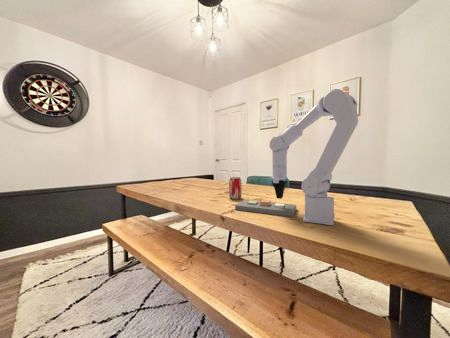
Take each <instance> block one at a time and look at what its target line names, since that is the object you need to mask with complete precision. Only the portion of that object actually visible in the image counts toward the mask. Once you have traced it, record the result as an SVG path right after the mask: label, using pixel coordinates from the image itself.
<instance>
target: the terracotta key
mask: <svg viewBox="0 0 450 338" xmlns="http://www.w3.org/2000/svg"><path fill="white" fill-rule="evenodd" d="M259 201H260V206H267V207H269V206H271V199H269V200H268V199H262V200H259Z"/></svg>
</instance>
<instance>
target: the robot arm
mask: <svg viewBox="0 0 450 338" xmlns="http://www.w3.org/2000/svg"><path fill="white" fill-rule="evenodd" d="M358 105H359V104H358V102H357V101H356V99H355V98H354V96H352V95H351V94H349V93H346V92H344V90H343V89H340V88H334V89H331V90H329V91H328V92H327V93H325V95H324V96H322V97H321V98H319V100H318V101H317V103H316V104H315V105H314V106H313V108H311V109H310V110H309V111H308V112H307V113H306V114H305V115H304V116H303V117H302V118H301V119H300V120H299V121H298V122H297V123H292V124H289V125H287V127H286V129H285V130H283V132H281V133H279V134H278V136H273V137H272V139H270V141H269V148H270V150H271V152H272V154H271V155H272V161H271V162H272V164H271V165H272V175H270V176H269V179H272V181H271V185H272V186H273V188H274V192H275V196H276V199H283V197H284V192H285V188H286V186H287V183H288V181H287V179H288V176H287V174H288V173H287V172H288V170H287V169H288V168H287V167H288V165H287V164H288V159H287V157H288V156H287V155H288V150H289V148H290V147H291V146H290V145H292V144H293V143H294V142H296V141H297V140H298V139H299V138H301V137H302V135H303V131H304V130H305V129H307V128H309V126H311V125H312V124H314V123H315V122H317V121H318V120H319V119H321V118H322V117H328V116H332V118H333V119H334V122H335V123H336V125H335V127H334V128H333V131H332V133H331V135H330V137H329V139H328V141H327V143H326V144H325V147H324V149H323V151H322V154H321V156H320V157H319V159H318V162H317V163H316V166H315V168H313V169H312V170H311V171H310V172H309V174H308V176H307V177H306V178H305V179H303V180H302V182H301V186H300V187H301V190H302V192H303V194H304V214H303V217H302V222H306V223H313V224H320V225H328V226H334V223H335V222H334V221H335V220H334V219H335V211H334V210H335V200H334V199H335V197H333V196H328V191H330V188H331V181H332V179H333V174H332V173H333V171H334V169H335V167H336V165H337V163H338V161H339V159H340V157H341V156H342V154H343V152H344V150H345V149H346V147H347V144H348V142H349V141H350V139H351V137H352V135H353V133H354V132H355V129H356V128H357V126H358V124H359V115H358Z"/></svg>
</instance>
